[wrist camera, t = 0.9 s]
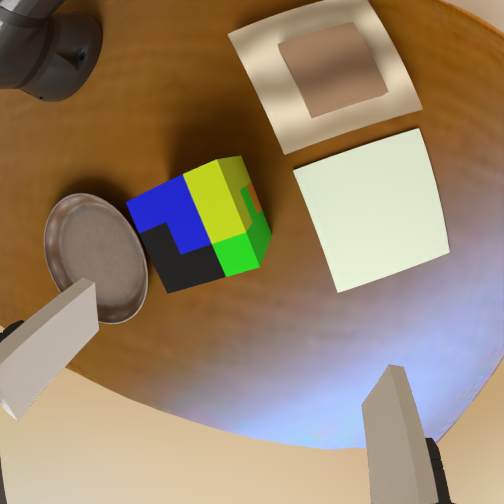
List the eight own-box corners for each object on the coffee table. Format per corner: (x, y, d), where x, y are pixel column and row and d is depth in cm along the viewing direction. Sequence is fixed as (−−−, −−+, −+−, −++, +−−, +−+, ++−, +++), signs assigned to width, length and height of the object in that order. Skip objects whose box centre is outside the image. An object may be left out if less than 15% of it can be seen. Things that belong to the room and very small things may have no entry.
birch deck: (234, 44, 28) (227, 34, 25) (357, 4, 23) (362, -8, 20) (286, 154, 32) (284, 154, 28) (411, 112, 27) (422, 109, 24)
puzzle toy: (168, 186, 35) (125, 202, 26) (241, 155, 33) (216, 159, 23) (199, 257, 38) (167, 293, 29) (271, 234, 35) (259, 266, 26)
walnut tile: (279, 51, 25) (277, 44, 22) (349, 30, 22) (352, 21, 20) (311, 118, 27) (312, 115, 24) (382, 95, 24) (388, 91, 22)
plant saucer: (124, 167, 36) (110, 170, 33) (179, 303, 41) (170, 315, 38) (42, 215, 41) (29, 221, 38) (88, 320, 47) (78, 329, 44)
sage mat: (293, 170, 32) (293, 170, 32) (417, 128, 28) (419, 128, 27) (337, 291, 36) (337, 292, 36) (448, 251, 32) (449, 252, 31)
